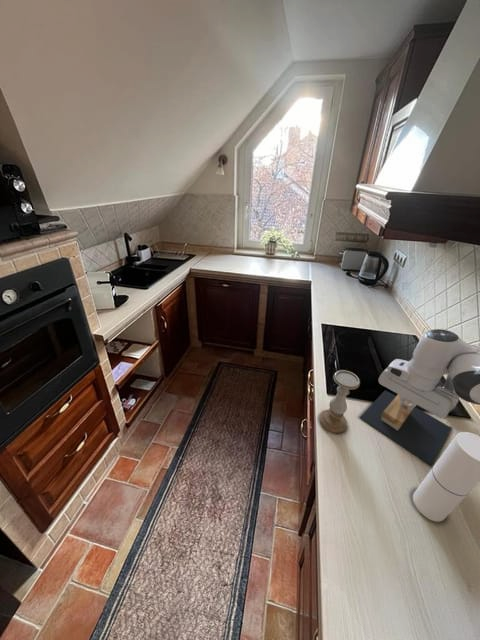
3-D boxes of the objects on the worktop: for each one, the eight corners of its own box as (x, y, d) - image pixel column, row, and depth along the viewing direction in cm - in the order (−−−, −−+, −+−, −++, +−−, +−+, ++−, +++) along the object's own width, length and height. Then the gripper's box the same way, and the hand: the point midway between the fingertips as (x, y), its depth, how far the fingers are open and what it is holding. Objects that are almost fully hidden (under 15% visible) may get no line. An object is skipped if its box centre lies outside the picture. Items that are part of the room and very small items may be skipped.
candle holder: (346, 416, 89) (362, 372, 79) (346, 437, 82) (363, 392, 72) (321, 408, 92) (332, 365, 81) (318, 428, 85) (330, 383, 74)
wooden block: (416, 404, 88) (398, 394, 92) (402, 423, 81) (383, 411, 85) (411, 413, 90) (393, 402, 94) (397, 432, 84) (379, 420, 87)
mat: (450, 428, 86) (451, 427, 85) (431, 466, 74) (431, 465, 74) (384, 390, 100) (385, 389, 100) (359, 417, 89) (360, 416, 88)
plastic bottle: (456, 411, 92) (484, 369, 82) (443, 416, 90) (471, 374, 79) (438, 398, 97) (463, 357, 87) (426, 403, 95) (450, 362, 85)
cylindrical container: (406, 496, 67) (448, 437, 55) (425, 486, 70) (469, 427, 57) (432, 526, 62) (485, 469, 49) (452, 514, 64) (507, 457, 51)
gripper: (464, 391, 73) (443, 422, 80) (391, 356, 86) (379, 385, 94) (458, 402, 70) (437, 434, 77) (383, 364, 83) (371, 394, 90)
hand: (404, 407), depth 85 cm, fingers closed
